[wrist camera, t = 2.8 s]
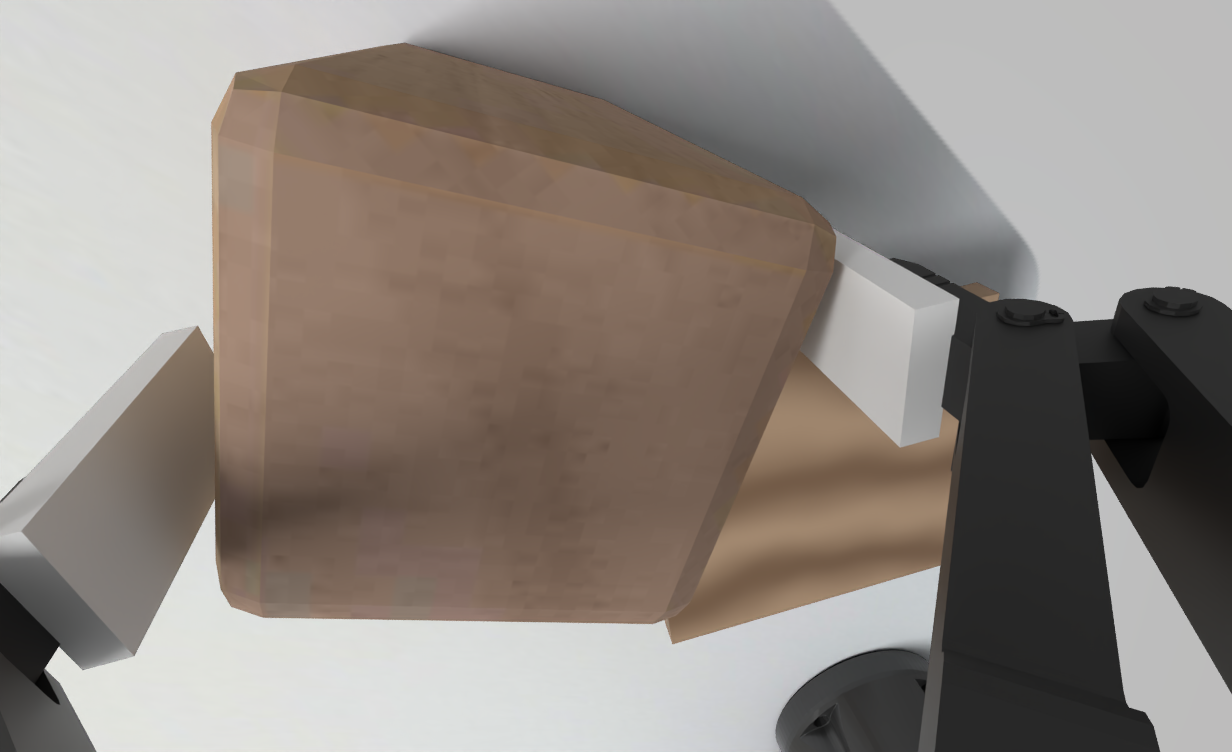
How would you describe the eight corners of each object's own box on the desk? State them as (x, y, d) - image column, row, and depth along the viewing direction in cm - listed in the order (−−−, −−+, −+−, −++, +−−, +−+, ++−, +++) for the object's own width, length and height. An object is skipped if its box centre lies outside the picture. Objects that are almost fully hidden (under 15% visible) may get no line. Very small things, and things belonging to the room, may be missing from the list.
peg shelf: (895, 498, 43) (952, 561, 38) (646, 568, 42) (672, 644, 36) (919, 254, 34) (999, 293, 29) (602, 329, 32) (628, 385, 27)
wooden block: (621, 103, 27) (881, 225, 10) (568, 311, 32) (692, 643, 14) (380, 34, 24) (180, 42, 7) (357, 274, 29) (197, 641, 11)
